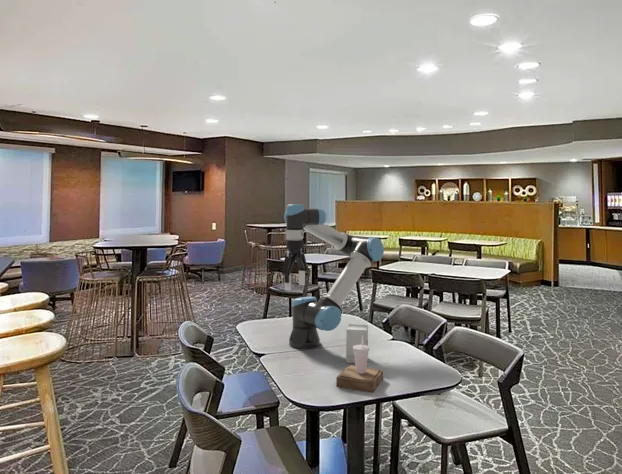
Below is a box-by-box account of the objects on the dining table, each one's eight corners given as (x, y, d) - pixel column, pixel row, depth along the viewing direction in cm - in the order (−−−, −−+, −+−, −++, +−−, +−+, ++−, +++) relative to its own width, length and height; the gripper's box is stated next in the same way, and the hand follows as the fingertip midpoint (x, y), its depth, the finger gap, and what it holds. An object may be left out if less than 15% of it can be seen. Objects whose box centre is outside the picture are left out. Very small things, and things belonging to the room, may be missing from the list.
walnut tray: (349, 373, 176) (349, 363, 176) (382, 379, 170) (383, 369, 170) (336, 386, 163) (336, 376, 163) (372, 393, 157) (372, 382, 157)
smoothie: (365, 376, 163) (365, 339, 162) (349, 372, 166) (349, 336, 165) (372, 370, 168) (372, 335, 167) (357, 367, 172) (357, 332, 171)
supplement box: (366, 364, 186) (367, 330, 185) (345, 363, 188) (346, 329, 187) (368, 357, 195) (368, 324, 194) (348, 356, 197) (348, 323, 196)
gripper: (289, 241, 178) (289, 293, 179) (314, 238, 200) (314, 283, 202) (273, 241, 181) (273, 291, 182) (299, 237, 203) (299, 282, 205)
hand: (295, 287), depth 192 cm, fingers open, 13 cm apart
